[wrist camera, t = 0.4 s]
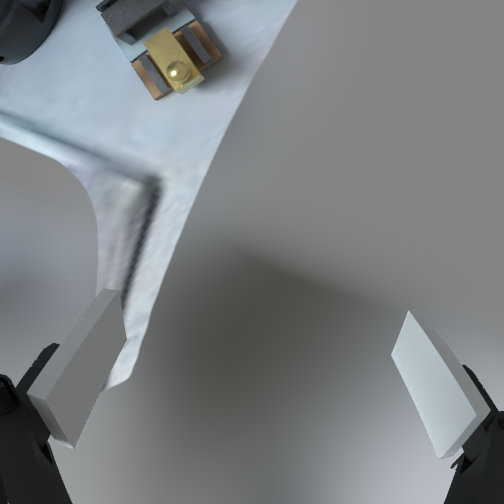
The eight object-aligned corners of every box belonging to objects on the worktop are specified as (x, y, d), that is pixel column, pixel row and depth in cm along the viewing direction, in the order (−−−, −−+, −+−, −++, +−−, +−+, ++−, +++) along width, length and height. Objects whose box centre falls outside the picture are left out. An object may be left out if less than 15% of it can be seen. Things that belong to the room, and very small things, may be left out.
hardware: (112, 17, 26) (95, 6, 22) (157, -14, 25) (145, -29, 20) (162, 93, 30) (149, 88, 26) (212, 60, 29) (206, 50, 24)
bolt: (151, 49, 28) (134, 37, 23) (173, 34, 27) (160, 19, 22) (181, 94, 30) (169, 88, 25) (205, 79, 29) (196, 70, 24)
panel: (108, 26, 27) (104, 23, 26) (168, -15, 25) (165, -19, 24) (157, 100, 31) (154, 99, 30) (223, 57, 30) (222, 55, 28)
